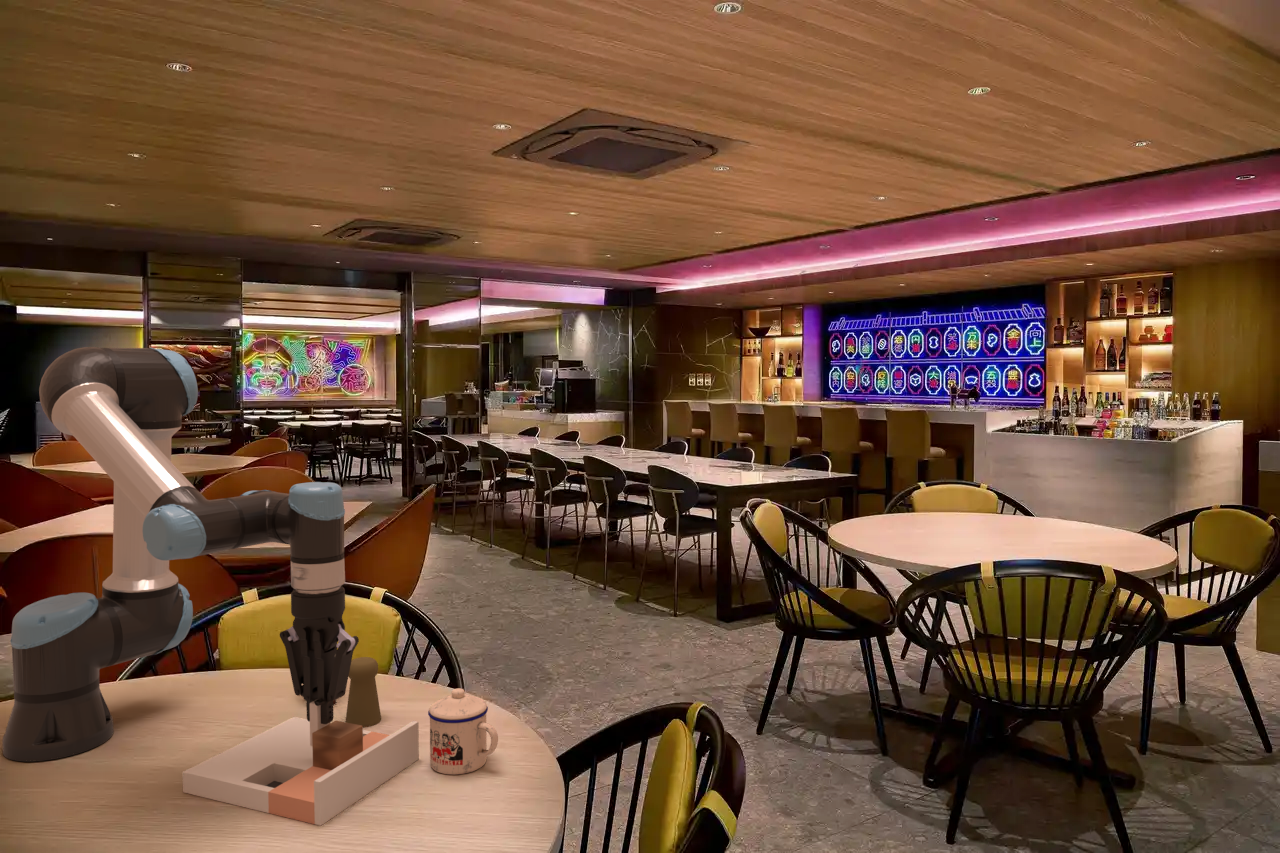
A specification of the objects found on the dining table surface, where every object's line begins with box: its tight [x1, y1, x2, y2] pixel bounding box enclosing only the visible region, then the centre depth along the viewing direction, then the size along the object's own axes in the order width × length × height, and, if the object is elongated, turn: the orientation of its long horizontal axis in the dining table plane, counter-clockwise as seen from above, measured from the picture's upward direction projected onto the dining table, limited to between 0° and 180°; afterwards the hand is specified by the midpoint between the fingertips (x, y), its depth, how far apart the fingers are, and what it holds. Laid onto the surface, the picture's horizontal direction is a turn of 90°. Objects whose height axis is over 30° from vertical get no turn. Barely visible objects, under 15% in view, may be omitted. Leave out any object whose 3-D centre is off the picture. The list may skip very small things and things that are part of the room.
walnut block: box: [312, 720, 364, 770], centre depth 130 cm, size 5×5×5 cm
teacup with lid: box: [427, 687, 499, 775], centre depth 136 cm, size 12×9×12 cm
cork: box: [345, 656, 382, 728], centre depth 153 cm, size 6×6×11 cm
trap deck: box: [181, 716, 420, 827], centre depth 133 cm, size 25×22×6 cm
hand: (320, 742), depth 131 cm, fingers closed
